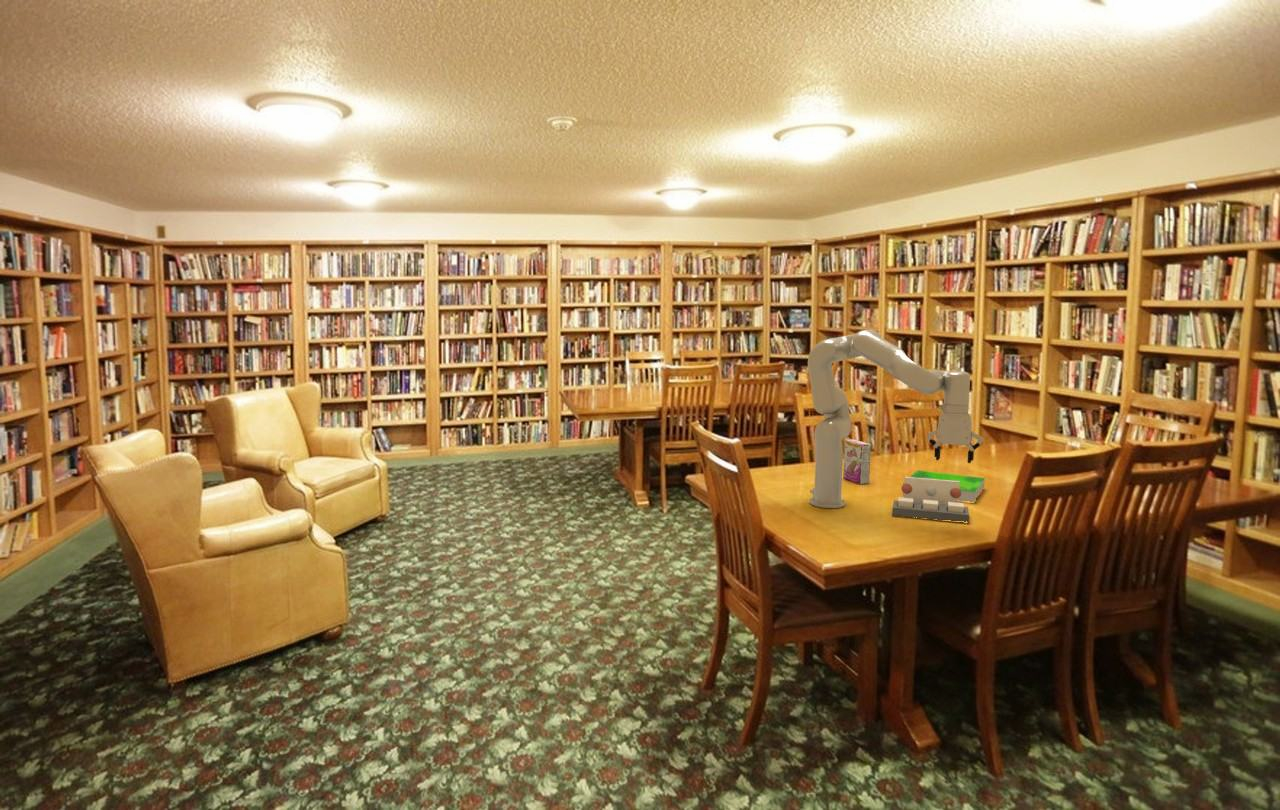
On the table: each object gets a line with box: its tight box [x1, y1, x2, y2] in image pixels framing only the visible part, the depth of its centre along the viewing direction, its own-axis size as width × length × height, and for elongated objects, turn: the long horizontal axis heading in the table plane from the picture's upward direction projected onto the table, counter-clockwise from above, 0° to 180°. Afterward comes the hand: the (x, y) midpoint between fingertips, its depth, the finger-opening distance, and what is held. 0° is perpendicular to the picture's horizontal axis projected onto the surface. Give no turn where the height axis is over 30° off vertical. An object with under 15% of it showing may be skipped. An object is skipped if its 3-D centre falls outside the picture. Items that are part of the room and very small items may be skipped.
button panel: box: [891, 476, 970, 523], centre depth 251 cm, size 24×14×11 cm, turn 68°
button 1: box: [897, 496, 913, 508], centre depth 253 cm, size 5×5×3 cm
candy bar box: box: [842, 438, 872, 485], centre depth 297 cm, size 11×5×16 cm, turn 22°
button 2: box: [948, 502, 965, 513], centre depth 247 cm, size 5×5×3 cm
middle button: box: [923, 500, 938, 510], centre depth 250 cm, size 5×5×3 cm
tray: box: [902, 469, 986, 502], centre depth 281 cm, size 25×25×5 cm
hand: (953, 460), depth 239 cm, fingers open, 9 cm apart
